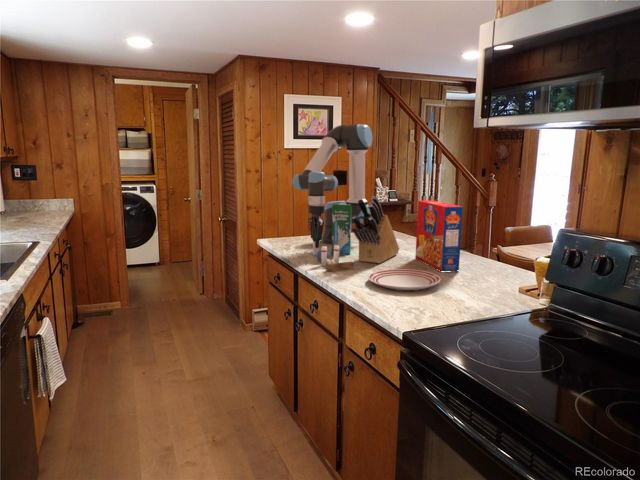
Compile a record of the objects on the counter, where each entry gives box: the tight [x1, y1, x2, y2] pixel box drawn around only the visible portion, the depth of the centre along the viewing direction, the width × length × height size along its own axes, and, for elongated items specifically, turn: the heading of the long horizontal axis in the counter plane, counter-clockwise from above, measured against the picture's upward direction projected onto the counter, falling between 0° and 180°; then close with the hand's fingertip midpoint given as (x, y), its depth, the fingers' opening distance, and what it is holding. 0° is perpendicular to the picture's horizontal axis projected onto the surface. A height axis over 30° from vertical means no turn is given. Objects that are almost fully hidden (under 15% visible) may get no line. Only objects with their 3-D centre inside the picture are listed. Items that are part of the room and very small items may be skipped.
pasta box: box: [415, 200, 464, 271], centre depth 210 cm, size 28×8×28 cm, turn 11°
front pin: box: [327, 258, 336, 264], centre depth 208 cm, size 2×2×8 cm
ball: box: [316, 248, 331, 262], centre depth 216 cm, size 6×6×6 cm
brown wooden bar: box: [325, 261, 355, 273], centre depth 201 cm, size 12×2×3 cm, turn 114°
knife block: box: [351, 195, 400, 264], centre depth 220 cm, size 11×35×31 cm, turn 151°
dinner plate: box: [367, 268, 442, 291], centre depth 180 cm, size 28×27×3 cm
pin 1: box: [320, 245, 328, 267], centre depth 208 cm, size 2×2×8 cm
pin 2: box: [333, 246, 340, 263], centre depth 211 cm, size 2×2×8 cm
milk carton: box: [331, 203, 352, 256], centre depth 236 cm, size 9×9×25 cm
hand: (316, 254), depth 224 cm, fingers closed
